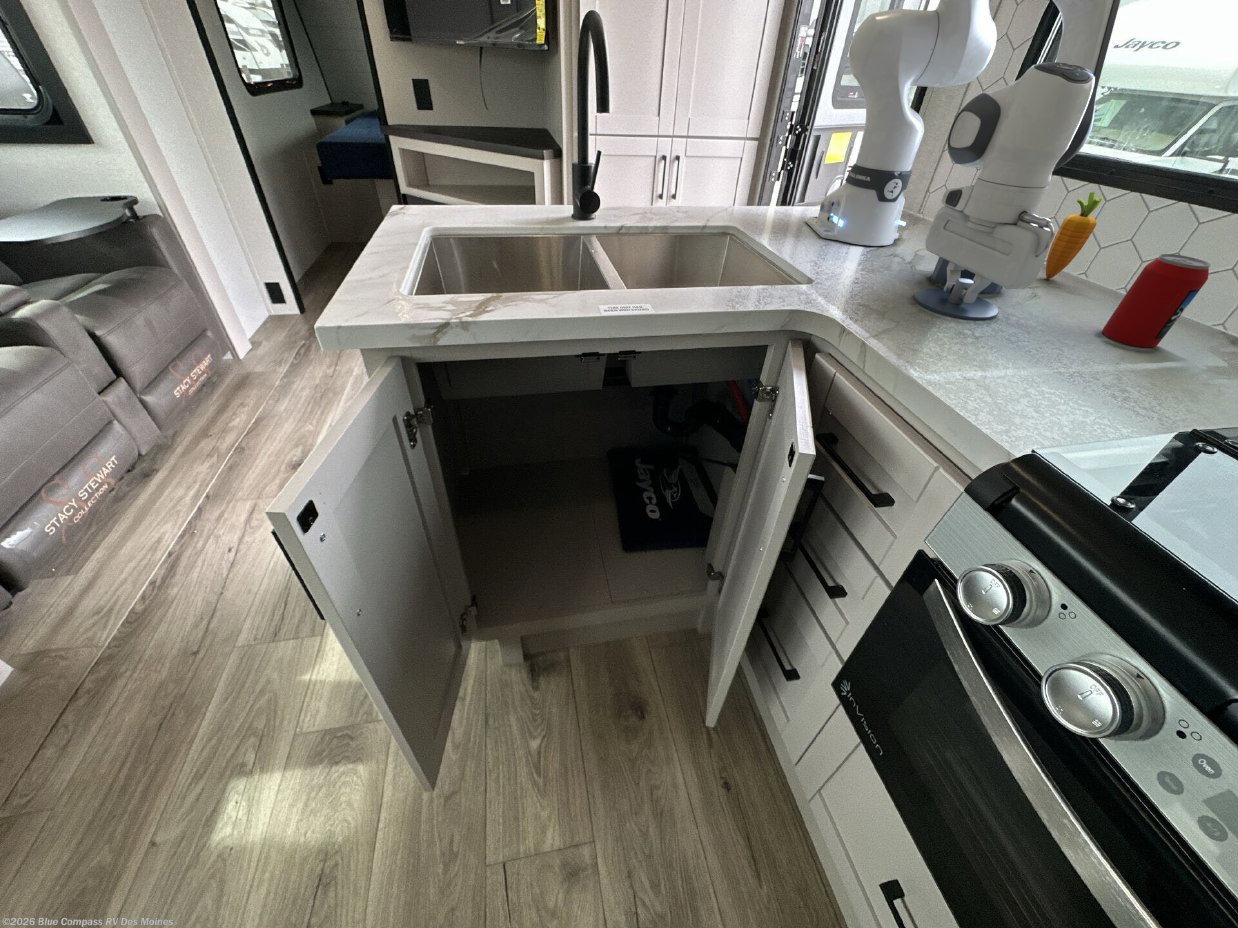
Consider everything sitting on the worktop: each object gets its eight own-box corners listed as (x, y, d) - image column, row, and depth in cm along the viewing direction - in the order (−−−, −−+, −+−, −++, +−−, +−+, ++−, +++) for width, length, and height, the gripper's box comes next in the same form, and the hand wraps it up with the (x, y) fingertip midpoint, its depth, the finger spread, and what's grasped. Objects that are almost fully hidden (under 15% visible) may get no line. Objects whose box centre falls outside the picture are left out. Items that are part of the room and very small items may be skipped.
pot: (904, 276, 97) (921, 234, 92) (981, 275, 99) (1001, 234, 95) (944, 298, 88) (964, 253, 83) (1027, 296, 91) (1051, 253, 86)
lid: (897, 295, 88) (907, 268, 85) (959, 294, 90) (972, 267, 87) (944, 325, 79) (957, 295, 76) (1013, 323, 81) (1029, 294, 78)
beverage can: (1164, 354, 74) (1231, 270, 66) (1113, 348, 75) (1172, 264, 67) (1137, 335, 79) (1196, 255, 72) (1089, 330, 80) (1142, 250, 72)
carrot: (1058, 285, 97) (1110, 197, 87) (1029, 277, 100) (1076, 192, 90) (1066, 280, 99) (1116, 194, 90) (1037, 273, 102) (1083, 189, 93)
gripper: (1080, 223, 67) (1023, 322, 76) (972, 189, 83) (935, 275, 92) (1039, 222, 66) (986, 324, 75) (937, 189, 82) (903, 276, 91)
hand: (957, 297), depth 83 cm, fingers closed on lid, 2 cm apart
